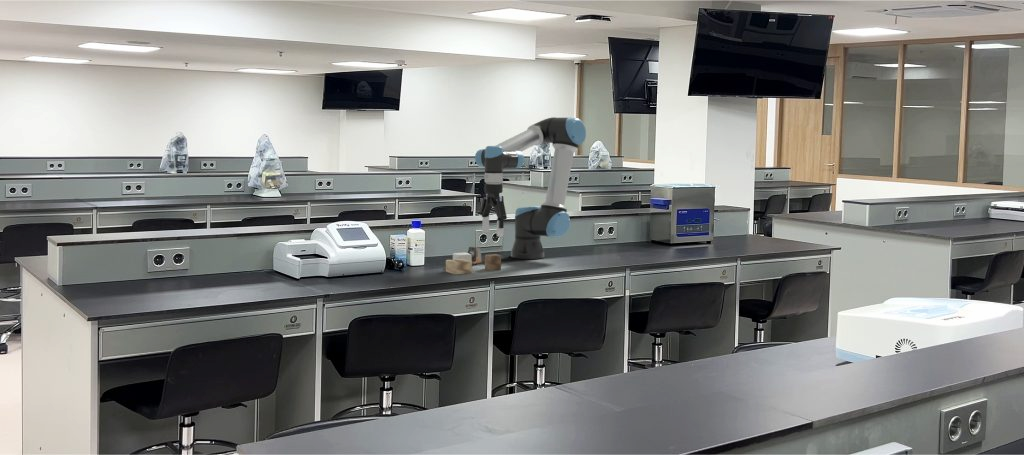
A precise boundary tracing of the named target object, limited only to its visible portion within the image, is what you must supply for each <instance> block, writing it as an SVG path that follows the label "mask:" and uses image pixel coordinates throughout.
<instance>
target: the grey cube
mask: <svg viewBox="0 0 1024 455" xmlns="http://www.w3.org/2000/svg"><path fill="white" fill-rule="evenodd" d="M452 259H466V260H469V261H472V254H469V253H468V252H453V253H452Z"/></svg>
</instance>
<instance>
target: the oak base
mask: <svg viewBox="0 0 1024 455" xmlns="http://www.w3.org/2000/svg"><path fill="white" fill-rule="evenodd" d="M445 272H446V273H450V274H452V275H462V274H464V275H465V273H466V274H473V265H472V261H469V260H466V259H453V258H452V259H446V260H445Z"/></svg>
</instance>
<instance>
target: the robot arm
mask: <svg viewBox="0 0 1024 455" xmlns="http://www.w3.org/2000/svg"><path fill="white" fill-rule="evenodd" d="M586 130H587V129H586V126H585V124H584V122H583V120H581V119H580V118H577V117H571V116H570V117H557V116H555V117H553V116H552V117H548V118H545V119H542V120H540V121H538V122H535V123H534V124H531V125H530V126H528V127H527V129H526V130H524V131H523V132H520V133H518V134H516V135H514V136H513V137H510V138H507V139H505V140H503V141H502V142H499V143H498V144H496V145H487V146H486V147H485V148H482V149H479V150H477V151H476V153H475V156H474V161H475V163H476V165H477V166H478V167H483V168H484V176H483V177H484V183H485V184H483V185H484V187H483V189H484V194H483V198H482V202H481V207H480V211H479V215H480V216H481V217H482V229H481V230H482V234H485V233H487V234H488V233H490V213H491V210H492V208H493V209H494V211H495V214H496V217H497V218H496V237H504V230H505V228H504V224H505V222H504V221H505V220H507V218H508V217H507V212H506V208H505V203H504V202H505V201H504V196H503V195H500V194H502V193H503V186H504V185H503V184H502V183H503V181H504V169H507V170H509V169H513V170H515V169H520V168H522V166H523V165H524V162H525V157H524V154H523V151H526V150H528V149H529V148H532V147H533V146H540V145H542V144H551V146H552V147H553V148H554V152H553V158H552V162H551V168H550V175H549V179H548V185H547V191H546V196H545V201H544V202H543V203H541V205H535V206H524V207H523V206H522V207H517V208H516V209H515V212H514V213H515V215H514V241H513V245H512V247H511V251H510V257H511V258H514V259H521V260H522V259H523V260H537V259H538V260H539V259H542V258H545V251H544V248H543V244H542V241H541V237H549V238H561V237H563V236H565V235H566V234H567V232H568V231H569V229H570V226H571V218H570V215H569V213H567V211H568V209H567V207H566V205H565V204H566V197H567V192H568V186H569V182H570V181H569V180H570V174H571V169H572V163H573V159H574V153H575V152H577V151H578V150H579V145H582V144H583V143H584V142H585V139H586V137H587V131H586Z"/></svg>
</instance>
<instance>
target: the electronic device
mask: <svg viewBox="0 0 1024 455" xmlns="http://www.w3.org/2000/svg"><path fill="white" fill-rule="evenodd" d="M481 249H482V248H481V247H480V246H479V247H478V246H469V247H468V249H467V250H468V251H467V253H469V254H472V266H475V264H476V265H479V264H482V261H483V259H482V252H481Z"/></svg>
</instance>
